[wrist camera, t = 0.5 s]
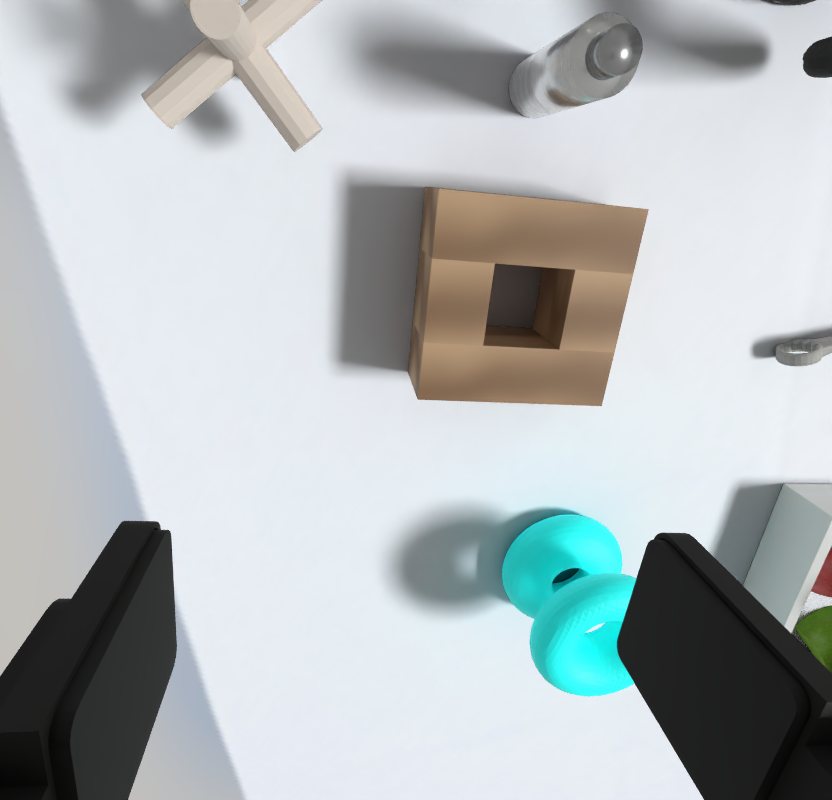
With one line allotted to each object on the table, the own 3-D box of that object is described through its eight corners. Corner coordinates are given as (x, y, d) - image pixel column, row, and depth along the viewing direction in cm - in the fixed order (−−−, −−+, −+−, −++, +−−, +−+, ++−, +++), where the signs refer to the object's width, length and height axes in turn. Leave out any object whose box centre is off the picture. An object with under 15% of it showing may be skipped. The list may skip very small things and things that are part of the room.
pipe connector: (247, 198, 32) (210, 208, 23) (113, 33, 28) (5, -36, 19) (382, 88, 31) (400, 51, 22) (261, -101, 27) (221, -243, 18)
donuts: (637, 713, 39) (515, 696, 37) (580, 611, 48) (479, 592, 46) (706, 608, 36) (577, 582, 34) (631, 521, 45) (526, 495, 43)
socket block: (424, 186, 33) (439, 188, 28) (607, 205, 35) (648, 209, 30) (408, 372, 37) (417, 399, 33) (570, 379, 39) (601, 406, 35)
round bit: (513, 52, 31) (593, -4, 21) (566, 59, 31) (667, 8, 22) (505, 114, 32) (576, 88, 22) (556, 121, 33) (647, 98, 23)
